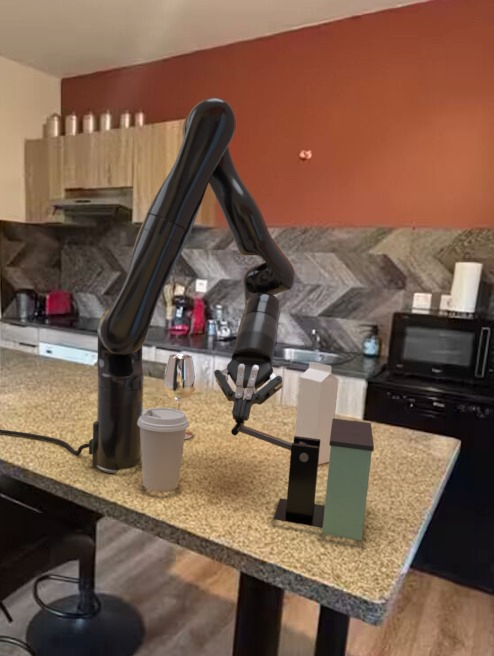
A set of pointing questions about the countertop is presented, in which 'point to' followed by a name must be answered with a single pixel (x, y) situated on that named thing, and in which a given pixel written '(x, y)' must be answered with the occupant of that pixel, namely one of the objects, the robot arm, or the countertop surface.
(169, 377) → the wineglass
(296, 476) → the black lever stand
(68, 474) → the countertop surface
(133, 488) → the countertop surface
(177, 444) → the coffee cup
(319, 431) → the milk
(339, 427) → the green lidded box
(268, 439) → the lever
